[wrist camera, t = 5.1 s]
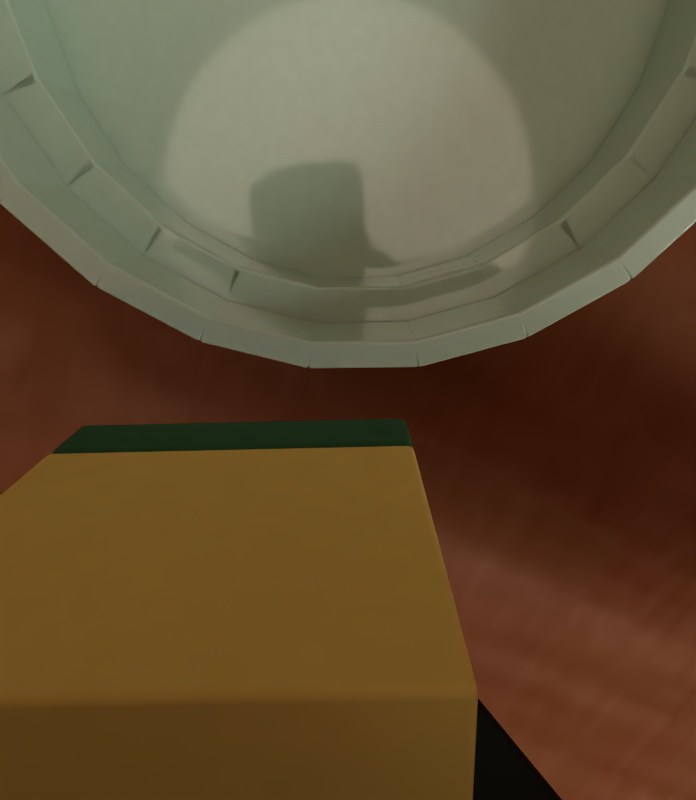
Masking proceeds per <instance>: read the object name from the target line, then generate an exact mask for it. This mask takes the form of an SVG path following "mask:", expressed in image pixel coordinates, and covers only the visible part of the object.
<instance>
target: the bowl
mask: <svg viewBox="0 0 696 800" xmlns="http://www.w3.org/2000/svg"><path fill="white" fill-rule="evenodd" d="M0 204H1V205H2V206H3V207H5V208H6V209H7V210H8V211H9V212H10V213H11V214H12V215H14V216H15V217H16V218H17V219H18V220H19V221H20V222H22V223H23V224H24V225H25V226H26V227H27V228H28V229H30V230H31V231H32V232H33V233H34V234H35V235H36V236H38V237H39V238H40V239H41V240H42V241H43V242H44V243H46V244H47V245H48V246H49V247H50V248H51V249H52V250H54V251H55V252H56V253H57V254H58V255H59V256H60V257H62V258H63V259H64V260H65V261H66V262H67V263H68V264H70V265H71V266H72V267H73V268H74V269H75V270H76V271H78V272H79V273H80V274H81V275H82V276H83V277H84V278H86V279H87V280H88V281H89V282H90V283H91V284H92V285H94V286H96V285H97V287H98V288H99V289H101V290H103V291H105V292H107V293H108V294H110V295H112V296H114V297H116V298H118V299H120V300H122V301H124V302H125V303H127V304H129V305H131V306H133V307H135V308H137V309H139V310H141V311H142V312H144V313H146V314H148V315H150V316H152V317H154V318H156V319H158V320H159V321H161V322H163V323H165V324H167V325H169V326H171V327H173V328H175V329H177V330H178V331H180V332H182V333H184V334H186V335H188V336H190V337H192V338H194V339H195V340H201V342H203V343H207V344H211V345H215V346H219V347H223V348H227V349H231V350H235V351H239V352H243V353H247V354H251V355H256V356H260V357H264V358H268V359H272V360H276V361H280V362H284V363H288V364H292V365H296V366H300V367H304V368H306V367H308V366H309V368H389V367H417V366H420V367H422V366H425V365H429V364H433V363H437V362H440V361H444V360H448V359H451V358H455V357H459V356H463V355H466V354H470V353H474V352H477V351H481V350H485V349H489V348H492V347H496V346H500V345H503V344H507V343H511V342H515V341H518V340H522V339H525V338H526V337H528V336H531V335H533V334H535V333H537V332H539V331H540V330H542V329H544V328H546V327H548V326H549V325H551V324H553V323H555V322H557V321H559V320H560V319H562V318H564V317H566V316H568V315H569V314H571V313H573V312H575V311H577V310H578V309H580V308H582V307H584V306H586V305H587V304H589V303H591V302H593V301H595V300H596V299H598V298H600V297H602V296H604V295H605V294H607V293H609V292H611V291H613V290H615V289H616V288H618V287H620V286H622V285H624V284H625V283H627V282H629V281H630V279H632V278H634V277H635V276H637V275H638V274H639V273H640V272H641V271H642V270H643V269H644V268H645V267H646V266H648V265H649V264H650V263H651V262H652V261H653V260H654V259H655V258H656V257H658V256H659V255H660V254H661V253H662V252H663V251H664V250H665V249H666V248H667V247H669V246H670V245H671V244H672V243H673V242H674V241H675V240H676V239H677V238H679V237H680V236H681V235H682V234H683V233H684V232H685V231H686V230H687V229H688V228H690V227H691V226H692V225H693V224H694V223H695V222H696V0H0Z"/></svg>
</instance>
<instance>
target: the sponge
mask: <svg viewBox="0 0 696 800" xmlns="http://www.w3.org/2000/svg"><path fill="white" fill-rule="evenodd" d="M477 705H478V688H477V684H476V680H475V677H474V673H473V669H472V666H471V662H470V658H469V654H468V651H467V647H466V643H465V639H464V636H463V632H462V628H461V624H460V621H459V617H458V613H457V609H456V606H455V602H454V598H453V594H452V591H451V587H450V583H449V580H448V576H447V572H446V568H445V565H444V561H443V557H442V553H441V550H440V546H439V542H438V538H437V535H436V531H435V527H434V523H433V520H432V516H431V512H430V508H429V505H428V501H427V497H426V494H425V490H424V486H423V482H422V479H421V475H420V471H419V467H418V464H417V460H416V456H415V452H414V450H413V446H412V443H411V439H410V435H409V431H408V428H407V424H406V422H405V421H404V420H402V419H366V420H322V421H278V422H234V423H190V424H146V425H101V426H84V427H81V428H80V429H79V430H77V431H76V432H75V433H74V434H73V435H72V436H70V437H69V438H68V439H67V440H66V441H65V442H63V443H62V444H61V445H60V446H59V447H58V448H56V449H55V450H54V452H53V454H50V455H48V456H46V457H45V458H44V459H42V460H41V461H40V462H39V463H38V464H37V465H35V466H34V467H33V468H32V469H31V470H29V471H28V472H27V473H26V474H25V475H24V476H22V477H21V478H20V479H19V480H18V481H17V482H15V483H14V484H13V485H12V486H11V487H9V488H8V489H7V490H6V491H5V492H4V493H2V494H1V495H0V800H473V783H474V763H475V744H476V724H477Z"/></svg>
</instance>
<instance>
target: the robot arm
mask: <svg viewBox="0 0 696 800" xmlns="http://www.w3.org/2000/svg"><path fill="white" fill-rule="evenodd" d="M473 800H562V799H561V798H560V797H559V796H558V795H557V793H556V792H555V791H554V790H553V789H552V787H551V786H550V785H549V784H548V782H547V781H546V780H545V779H544V778H543V776H542V775H541V774H540V773H539V772H538V770H537V769H536V768H535V767H534V765H533V764H532V763H531V762H530V761H529V759H528V758H527V757H526V756H525V755H524V753H523V752H522V751H521V750H520V749H519V747H518V746H517V745H516V744H515V742H514V741H513V740H512V739H511V738H510V736H509V735H508V734H507V733H506V732H505V730H504V729H503V728H502V727H501V726H500V724H499V723H498V722H497V721H496V719H495V718H494V717H493V716H492V715H491V713H490V712H489V711H488V710H487V709H486V707H485V706H484V705H483V704H482V702H481V701H480V700H479V699H478V705H477V724H476V744H475V763H474V783H473Z"/></svg>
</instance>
